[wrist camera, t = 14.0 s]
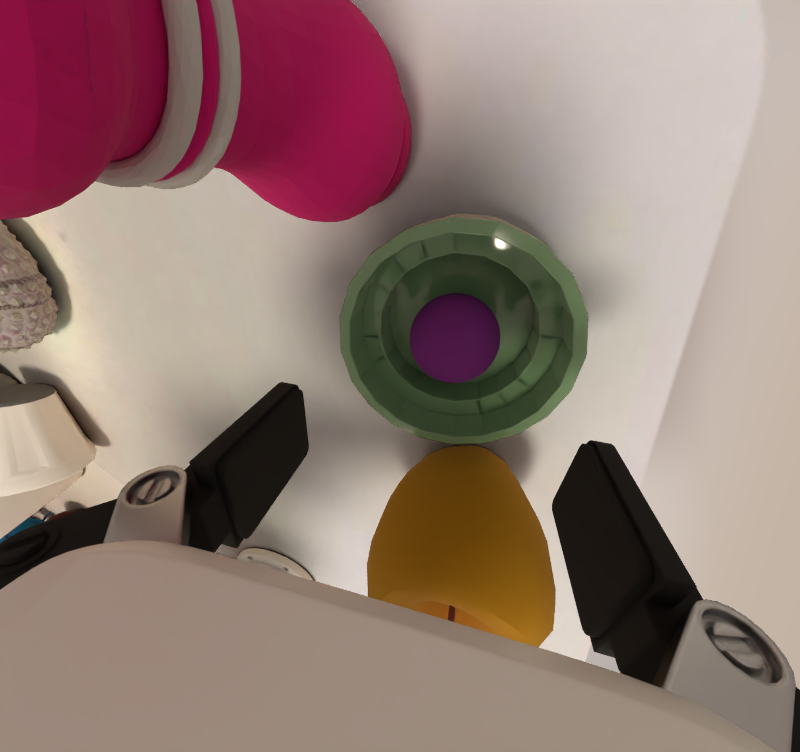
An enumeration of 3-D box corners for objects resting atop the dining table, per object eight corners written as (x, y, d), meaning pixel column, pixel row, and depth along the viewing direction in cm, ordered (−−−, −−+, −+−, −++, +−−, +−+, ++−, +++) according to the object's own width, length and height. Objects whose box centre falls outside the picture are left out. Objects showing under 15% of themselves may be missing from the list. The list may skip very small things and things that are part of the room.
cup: (-119, 419, 25) (-74, 509, 28) (53, 407, 29) (75, 485, 32) (-28, 379, 33) (-1, 452, 36) (94, 374, 38) (109, 439, 40)
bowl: (367, 382, 24) (343, 421, 19) (369, 205, 17) (334, 206, 13) (528, 412, 22) (540, 463, 17) (597, 224, 15) (641, 232, 11)
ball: (414, 352, 21) (397, 390, 16) (422, 278, 18) (404, 301, 14) (488, 364, 20) (490, 408, 16) (507, 289, 17) (515, 316, 13)
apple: (469, 388, 22) (458, 573, 11) (561, 477, 24) (628, 707, 13) (377, 453, 27) (309, 618, 16) (458, 520, 29) (445, 707, 19)
